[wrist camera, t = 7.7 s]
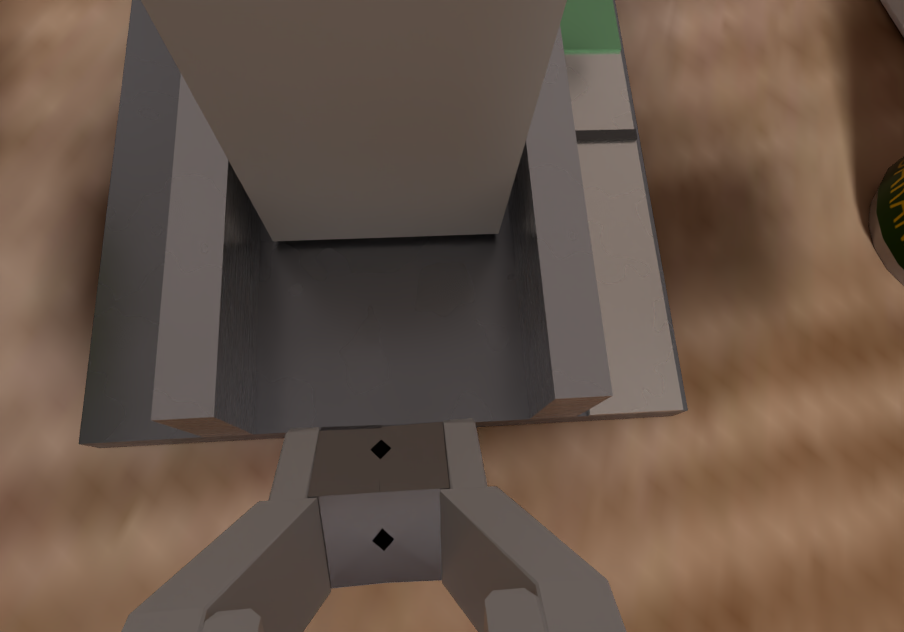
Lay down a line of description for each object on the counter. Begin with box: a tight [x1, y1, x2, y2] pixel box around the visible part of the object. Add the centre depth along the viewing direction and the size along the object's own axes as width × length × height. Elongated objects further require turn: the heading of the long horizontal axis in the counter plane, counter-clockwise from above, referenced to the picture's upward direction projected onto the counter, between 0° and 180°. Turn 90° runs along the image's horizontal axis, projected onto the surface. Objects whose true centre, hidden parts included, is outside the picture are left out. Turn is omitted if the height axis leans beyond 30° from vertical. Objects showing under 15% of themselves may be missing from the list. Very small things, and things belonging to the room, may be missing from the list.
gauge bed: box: [79, 0, 688, 448], centre depth 15 cm, size 15×18×7 cm
